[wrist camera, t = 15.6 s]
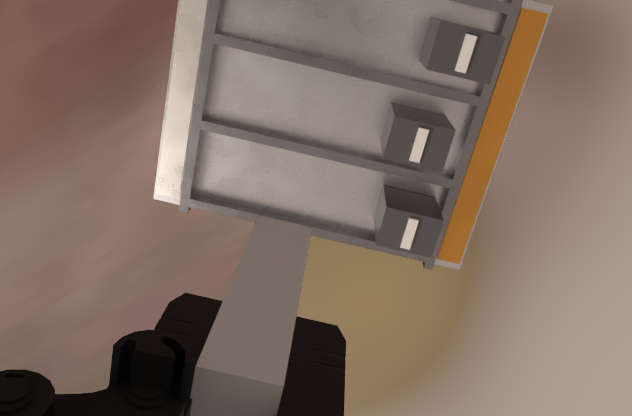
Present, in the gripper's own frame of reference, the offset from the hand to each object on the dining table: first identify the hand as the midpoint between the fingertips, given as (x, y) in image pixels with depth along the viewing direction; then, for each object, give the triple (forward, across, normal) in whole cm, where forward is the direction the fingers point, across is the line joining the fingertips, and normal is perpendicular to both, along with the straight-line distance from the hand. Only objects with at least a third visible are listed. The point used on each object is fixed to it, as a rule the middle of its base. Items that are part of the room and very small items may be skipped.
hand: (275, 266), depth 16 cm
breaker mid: (+23, +6, 0) cm, 23 cm away
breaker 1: (+23, +7, -6) cm, 24 cm away
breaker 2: (+23, +7, +5) cm, 24 cm away
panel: (+24, +1, 0) cm, 24 cm away
